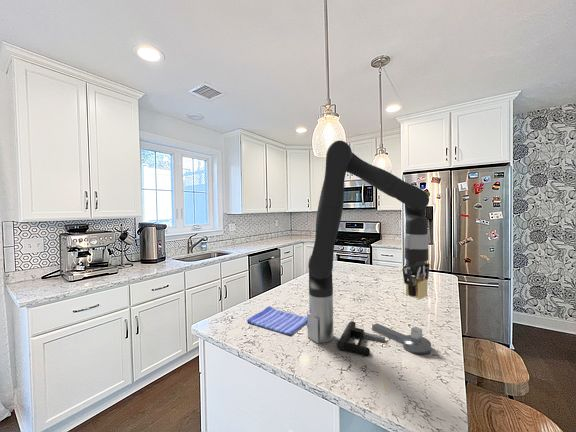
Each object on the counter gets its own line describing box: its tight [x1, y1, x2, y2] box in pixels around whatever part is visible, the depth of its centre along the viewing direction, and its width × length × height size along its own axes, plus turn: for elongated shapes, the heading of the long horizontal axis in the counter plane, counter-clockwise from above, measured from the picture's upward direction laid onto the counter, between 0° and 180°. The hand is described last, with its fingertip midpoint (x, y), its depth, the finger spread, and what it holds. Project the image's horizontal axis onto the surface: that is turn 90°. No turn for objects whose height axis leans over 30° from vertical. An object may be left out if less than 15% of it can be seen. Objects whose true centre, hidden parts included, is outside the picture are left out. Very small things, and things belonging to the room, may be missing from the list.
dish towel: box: [246, 305, 307, 336], centre depth 119 cm, size 17×24×3 cm
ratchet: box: [371, 323, 432, 356], centre depth 100 cm, size 9×22×7 cm, turn 34°
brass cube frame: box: [405, 275, 428, 300], centre depth 94 cm, size 5×5×6 cm
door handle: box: [335, 320, 386, 357], centre depth 100 cm, size 3×20×16 cm
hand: (416, 293), depth 94 cm, fingers closed on brass cube frame, 5 cm apart
